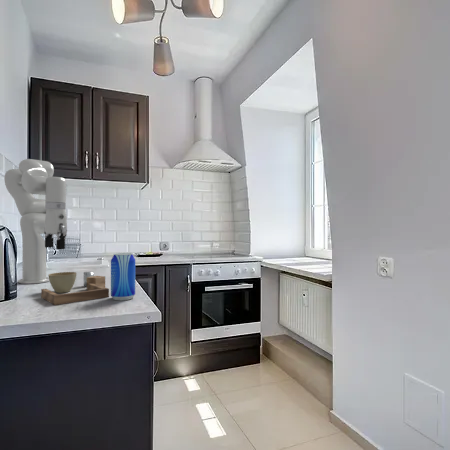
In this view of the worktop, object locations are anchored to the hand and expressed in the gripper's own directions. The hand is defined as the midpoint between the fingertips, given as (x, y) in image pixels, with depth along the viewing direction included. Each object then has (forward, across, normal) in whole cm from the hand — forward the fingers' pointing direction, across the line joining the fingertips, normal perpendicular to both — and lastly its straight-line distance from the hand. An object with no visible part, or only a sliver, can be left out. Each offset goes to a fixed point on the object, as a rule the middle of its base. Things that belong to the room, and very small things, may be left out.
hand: (54, 248), depth 137 cm
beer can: (+15, -39, -6) cm, 42 cm away
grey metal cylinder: (+16, -8, -11) cm, 21 cm away
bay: (+16, -23, +4) cm, 28 cm away
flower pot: (+16, -10, +2) cm, 19 cm away
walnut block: (+16, -15, -10) cm, 24 cm away
